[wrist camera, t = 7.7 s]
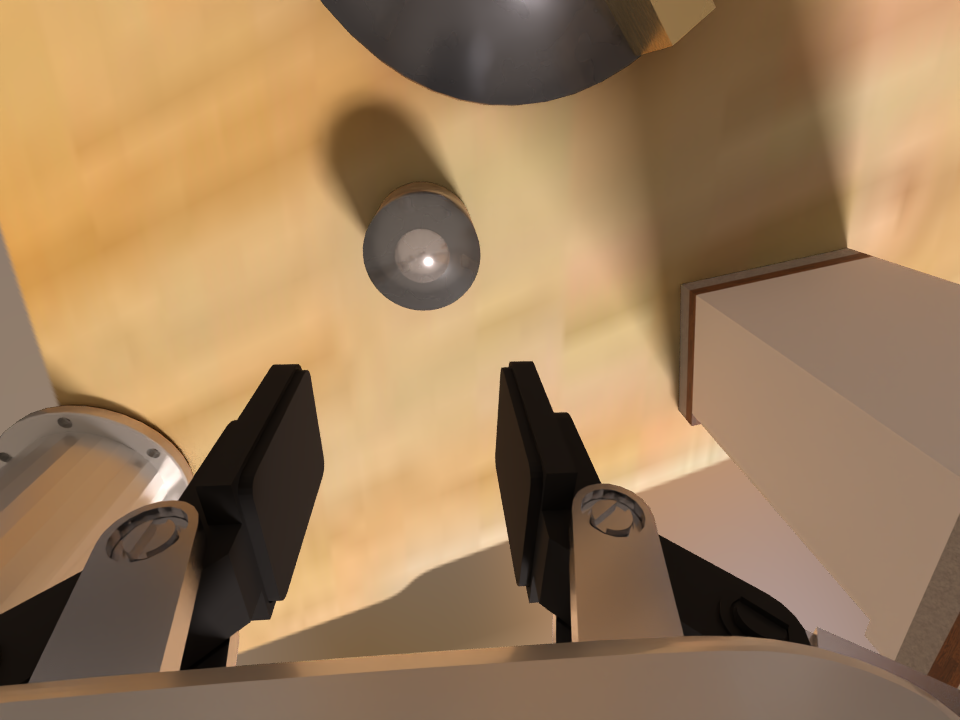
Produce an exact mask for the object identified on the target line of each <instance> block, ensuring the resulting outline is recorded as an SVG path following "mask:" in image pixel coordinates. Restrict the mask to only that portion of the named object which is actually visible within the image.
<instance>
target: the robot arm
mask: <svg viewBox="0 0 960 720" xmlns="http://www.w3.org/2000/svg"><path fill="white" fill-rule="evenodd" d="M495 462H496V471H497V476H498V482H499V488H500V493H501V499H502V505H503V510H504V516H505V521H506V527H507V533H508V538H509V544H510V549H511V555H512V561H513V567H514V572H515V577H516V583H517V585H518V586H526V589H527V594H528V598H529V603H535V602H539V603H540V604H541V605H542V606H544V607H545V608H546V609H548V610H549V611H550V612H552V613H553V644H540V645H524V646H510V647H495V648H481V649H480V648H479V649H465V650H452V651H451V650H450V651H436V652H422V653H408V654H394V655H380V656H368V657H367V656H366V657H353V658H340V659H325V660H312V661H299V662H285V663H271V664H257V665H244V666H236V659H237V652H238V644H239V630H240V629H242V628H243V627H244V626H246V625H247V624H248V623H250V622H251V621H253V620H269V619H270V618H271V615H272V612H273V609H274V606H275V603H276V601H282V600H284V599H285V597H286V594H287V592H288V588H289V585H290V582H291V578H292V575H293V572H294V569H295V565H296V562H297V559H298V555H299V552H300V549H301V546H302V542H303V539H304V536H305V532H306V529H307V526H308V523H309V519H310V516H311V513H312V509H313V506H314V503H315V500H316V496H317V493H318V490H319V486H320V483H321V480H322V477H323V472H324V457H323V451H322V444H321V438H320V432H319V426H318V420H317V413H316V407H315V401H314V395H313V388H312V382H311V376H310V373H309V371H308V370H302V369H301V366H300V365H299V364H284V365H272V367H271V368H270V369H269V371H268V373H267V374H266V376H265V377H264V379H263V380H262V382H261V384H260V385H259V387H258V388H257V390H256V391H255V393H254V395H253V396H252V398H251V399H250V401H249V402H248V404H247V406H246V407H245V409H244V410H243V412H242V413H241V415H240V416H239V418H238V420H234V421H231V422H230V423H229V424H228V425H227V427H226V428H225V430H224V431H223V433H222V434H221V436H220V437H219V439H218V440H217V442H216V443H215V445H214V446H213V448H212V449H211V451H210V452H209V454H208V456H207V457H206V459H205V460H204V462H203V463H202V465H201V466H200V468H199V469H198V471H197V472H196V474H195V475H194V477H193V475H192V472H191V469H190V467H189V465H188V463H187V462H186V460H185V458H184V457H183V455H182V454H181V453H180V452H179V451H178V450H177V448H176V447H175V446H174V445H173V444H172V443H171V442H170V441H168V440H167V439H166V438H165V437H163V436H162V435H161V434H160V433H158V432H157V431H155V430H154V429H152V428H150V427H149V426H147V425H145V424H144V423H142V422H140V421H137V420H135V419H133V418H130V417H128V416H126V415H123V414H120V413H116V412H113V411H110V410H106V409H101V408H95V407H88V406H58V407H51V408H45V409H42V410H40V411H36V412H33V413H31V414H29V415H27V416H25V417H24V418H22V419H20V420H19V421H18V422H16V423H15V424H14V425H12V426H11V427H10V428H9V429H7V430H6V431H5V432H4V433H3V434H2V435H1V437H0V720H960V690H959V689H957V688H955V687H953V686H950V685H948V684H946V683H943V682H941V681H939V680H937V679H934V678H932V677H930V676H927V675H925V674H923V673H921V672H918V671H916V670H914V669H912V668H909V667H907V666H905V665H902V664H900V663H898V662H896V661H893V660H891V659H889V658H887V657H884V656H882V655H880V654H877V653H875V652H873V651H871V650H868V649H866V648H864V647H861V646H859V645H857V644H855V643H852V642H850V641H848V640H846V639H843V638H841V637H839V636H836V635H834V634H832V633H829V632H827V631H825V630H823V629H821V628H818V627H817V628H816V629H815V631H814V632H813V633H811V632H809V631H807V630H805V629H804V628H803V627H802V625H801V624H800V622H799V621H798V620H797V618H796V617H795V616H794V615H793V614H792V613H791V612H790V611H789V610H788V609H787V608H786V607H785V606H784V605H783V604H782V603H780V602H779V601H777V600H776V599H774V598H773V597H771V596H770V595H768V594H766V593H765V592H763V591H761V590H759V589H758V588H756V587H754V586H752V585H750V584H748V583H746V582H745V581H743V580H741V579H739V578H737V577H735V576H734V575H732V574H730V573H728V572H726V571H724V570H723V569H721V568H719V567H717V566H715V565H713V564H712V563H710V562H708V561H706V560H704V559H702V558H701V557H699V556H697V555H695V554H693V553H691V552H689V551H688V550H686V549H684V548H682V547H680V546H679V545H677V544H675V543H673V542H671V541H669V540H668V539H666V538H664V537H662V536H660V535H658V532H657V527H656V523H655V519H654V516H653V514H652V512H651V510H650V507H649V506H648V505H647V504H646V503H645V502H644V500H643V499H642V498H640V497H639V496H637V495H636V494H635V493H633V492H632V491H629V490H627V489H625V488H623V487H620V486H616V485H612V484H601V482H600V480H599V478H598V475H597V473H596V471H595V469H594V467H593V464H592V462H591V460H590V458H589V456H588V453H587V451H586V449H585V447H584V445H583V442H582V440H581V438H580V436H579V434H578V431H577V429H576V427H575V425H574V423H573V420H572V418H571V416H570V415H569V413H567V412H561V413H554V412H553V410H552V407H551V405H550V402H549V400H548V397H547V395H546V392H545V390H544V388H543V385H542V383H541V380H540V378H539V375H538V373H537V370H536V368H535V365H534V363H533V361H520V362H510V363H509V367H504V368H501V374H500V390H499V405H498V421H497V437H496V452H495Z"/></svg>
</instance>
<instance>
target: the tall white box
mask: <svg viewBox="0 0 960 720" xmlns="http://www.w3.org/2000/svg"><path fill="white" fill-rule="evenodd" d="M679 411H680V412H681V414H682V415H683V416H684V417H685V418H686V420H687V421H688V422H689V423H690V425H691V426H694V425H699V424H702V426H703V427H704V428H705V429H706V430H707V431H708V433H709V434H710V435H711V436H712V437H713V438H714V440H715V441H716V442H717V443H718V444H719V445H720V447H721V448H722V449H723V450H724V451H725V452H726V454H727V455H728V456H729V457H730V458H731V459H732V460H733V462H734V463H735V464H736V465H737V466H738V467H739V468H740V470H741V471H742V472H743V473H744V474H745V475H746V477H747V478H748V479H749V480H750V481H751V482H752V484H753V485H754V486H755V487H756V488H757V489H758V491H759V492H760V493H761V494H762V495H763V496H764V498H765V499H766V500H767V501H768V502H769V503H770V505H771V506H772V507H773V508H774V509H775V510H776V511H777V513H778V514H779V515H780V516H781V517H782V518H783V520H784V521H785V522H786V523H787V524H788V525H789V527H790V528H791V529H792V530H793V531H794V532H795V534H796V535H797V536H798V537H799V538H800V539H801V541H802V542H803V543H804V544H805V545H806V546H807V547H808V549H809V550H810V551H811V552H812V553H813V555H814V556H815V557H816V558H817V559H818V560H819V561H820V563H821V564H822V565H823V566H824V567H825V568H826V570H827V571H828V572H829V573H830V574H831V575H832V577H833V578H834V579H835V580H836V581H837V582H838V583H839V585H840V586H841V587H842V588H843V589H844V591H845V592H846V593H847V594H848V595H849V596H850V597H851V599H852V600H853V601H854V602H855V603H856V604H857V606H858V607H859V608H860V609H861V610H862V611H863V612H864V614H865V615H866V616H867V617H868V618H869V620H870V622H869V624H868V627H867V630H866V632H865V636H866V638H867V639H868V640H869V641H870V643H871V644H872V645H873V646H874V647H875V648H876V650H877V651H878V652H879V653H880V655H882V656H884V657H887V658H889V659H891V660H893V661H896V662H898V663H900V664H902V665H905V666H907V667H909V668H912V669H914V670H916V671H918V672H921V673H923V674H925V675H927V676H930V677H932V678H934V679H937V680H939V681H941V682H943V683H946V684H948V685H950V686H953V687H955V688H957V689H959V690H960V285H959V284H956V283H953V282H950V281H947V280H944V279H941V278H938V277H935V276H932V275H929V274H926V273H923V272H919V271H916V270H913V269H910V268H907V267H904V266H901V265H898V264H895V263H892V262H889V261H886V260H883V259H880V258H876V257H873V256H870V255H867V254H864V253H861V252H858V251H855V250H852V249H849V248H846V249H841V250H836V251H832V252H827V253H823V254H818V255H814V256H809V257H804V258H800V259H795V260H791V261H786V262H782V263H777V264H773V265H768V266H763V267H759V268H754V269H750V270H745V271H741V272H736V273H731V274H727V275H722V276H718V277H713V278H709V279H704V280H699V281H695V282H690V283H686V284H681V316H680V374H679Z"/></svg>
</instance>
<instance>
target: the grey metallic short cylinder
mask: <svg viewBox="0 0 960 720" xmlns="http://www.w3.org/2000/svg"><path fill="white" fill-rule="evenodd" d="M363 258H364V264H365V267H366V271H367V273H368V275H369V278H370V279H371V281H372V283H373V284H374V285H375V287H376V288H377V289H378V290H379V291H380V292H381V293H382V294H383V295H384V296H385V297H386V298H388V299H389V300H390V301H392V302H394V303H395V304H398V305H400V306H402V307H405V308H409V309H413V310H434V309H439V308H442V307H445V306H447V305H449V304H451V303H453V302H455V301H456V300H458V299H459V298H460V297H461V296H463V295H464V294H465V292H466V291H467V290H468V289H469V288H470V286H471V285H472V283H473V281H474V280H475V278H476V275H477V272H478V269H479V264H480V246H479V241H478V237H477V234H476V231H475V229H474V226H473V223H472V220H471V217H470V215H469V213H468V210H467V209H466V207H465V205H464V204H463V202H462V201H461V200H460V199H459V198H458V197H457V196H456V195H455V194H454V193H453V192H451V191H450V190H448V189H447V188H445V187H443V186H440V185H438V184H434V183H430V182H414V183H409V184H406V185H403V186H401V187H399V188H397V189H396V190H394V191H393V192H391V193H390V194H389V195H388V196H387V197H386V198H385V200H384V201H383V202H382V204H381V206H380V207H379V209H378V211H377V212H376V214H375V216H374V218H373V219H372V221H371V223H370V225H369V227H368V229H367V231H366V234H365V238H364V244H363Z"/></svg>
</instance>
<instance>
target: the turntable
mask: <svg viewBox="0 0 960 720" xmlns="http://www.w3.org/2000/svg"><path fill="white" fill-rule="evenodd" d="M321 2H322V3H323V4H324V6H325V7H326V8H327V9H328V10H329V11H330V12H331V13H332V14H333V16H334V17H335V18H336V19H337V20H338V21H339V22H340V23H341V24H342V25H343V27H344V28H345V29H346V30H347V31H348V32H349V33H350V34H351V35H352V36H353V37H354V38H355V39H356V40H357V41H358V42H360V43H361V44H362V45H363V46H364V47H365V48H366V49H368V50H369V51H370V52H371V53H372V54H373V55H374V56H376V57H377V58H378V59H379V60H380V61H381V62H383V63H384V64H386V65H387V66H389V67H390V68H392V69H393V70H395V71H396V72H398V73H399V74H401V75H402V76H404V77H405V78H407V79H409V80H411V81H413V82H415V83H417V84H419V85H421V86H423V87H425V88H427V89H429V90H431V91H433V92H436V93H439V94H442V95H445V96H448V97H451V98H454V99H457V100H460V101H466V102H472V103H477V104H483V105H508V106H513V105H523V104H530V103H538V102H546V101H550V100H554V99H557V98H561V97H564V96H568V95H571V94H575V93H577V92H579V91H582V90H584V89H586V88H589V87H591V86H593V85H595V84H598V83H600V82H602V81H604V80H605V79H607V78H609V77H610V76H612V75H614V74H615V73H617V72H619V71H620V70H622V69H623V68H625V67H627V66H628V65H630V64H631V63H632V62H634V61H635V60H636V59H637V58H639V57H640V56H641V55H642V54H646V53H649V52H653V51H656V50H660V49H663V48H667V47H671V46H673V45H674V44H676V43H677V42H678V41H679V40H680V39H681V38H682V37H683V36H685V35H686V34H687V33H688V32H689V31H690V30H691V29H692V28H694V27H695V26H696V25H697V24H698V23H699V22H700V21H701V20H703V19H704V18H705V17H706V16H707V15H708V14H709V13H710V12H712V11H713V10H714V9H715V8H716V6H715V4H714V2H713V0H321Z"/></svg>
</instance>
